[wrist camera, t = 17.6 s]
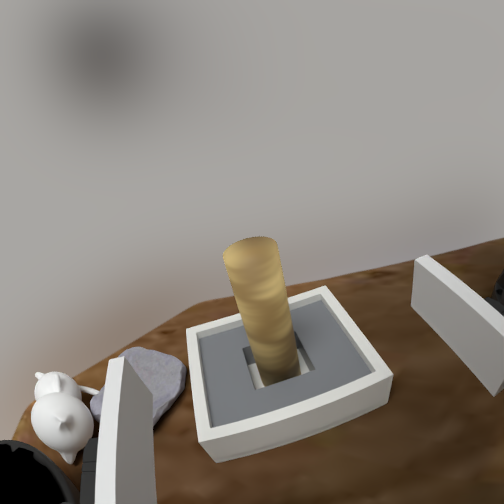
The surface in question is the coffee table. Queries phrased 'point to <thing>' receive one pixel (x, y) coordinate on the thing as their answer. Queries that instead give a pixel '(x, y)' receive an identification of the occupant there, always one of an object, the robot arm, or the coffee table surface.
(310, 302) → the hole box
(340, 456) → the coffee table surface
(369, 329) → the coffee table surface
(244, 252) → the peg
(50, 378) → the cat figurine
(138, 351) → the stone block
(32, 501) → the coal bowl
